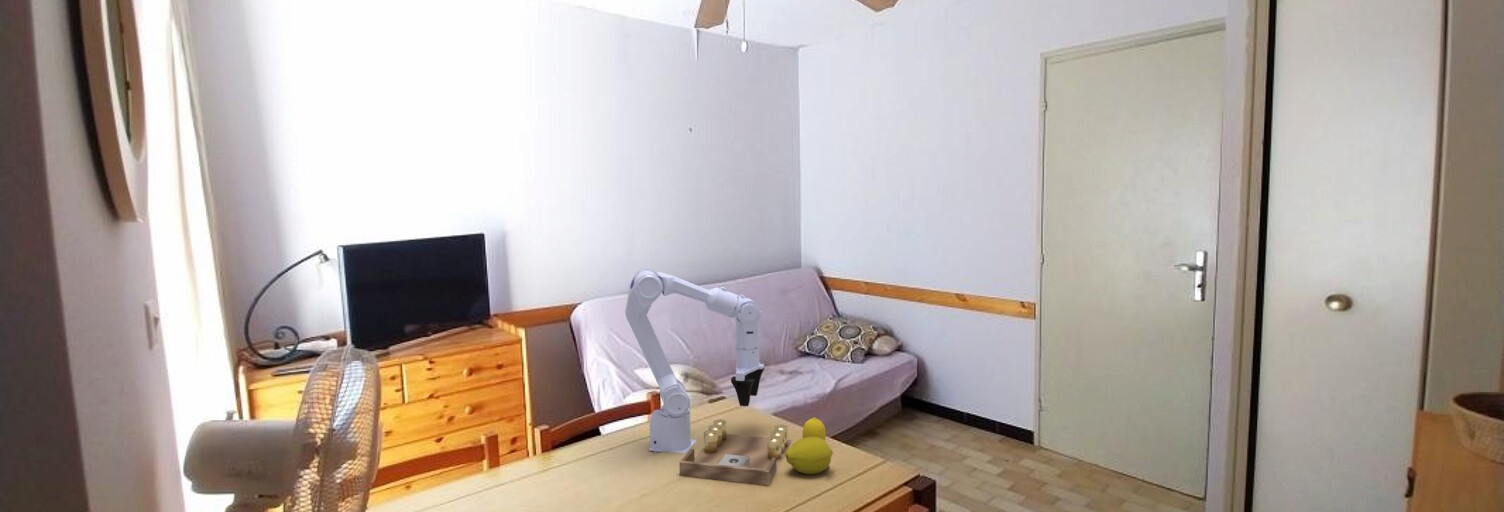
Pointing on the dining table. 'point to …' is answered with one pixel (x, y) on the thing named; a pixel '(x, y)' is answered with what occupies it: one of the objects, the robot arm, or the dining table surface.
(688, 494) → the dining table surface
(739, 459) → the square block with knob
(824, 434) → the lemon
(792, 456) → the lemon
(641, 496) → the dining table surface
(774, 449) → the spacers
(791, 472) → the dining table surface
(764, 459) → the tray
